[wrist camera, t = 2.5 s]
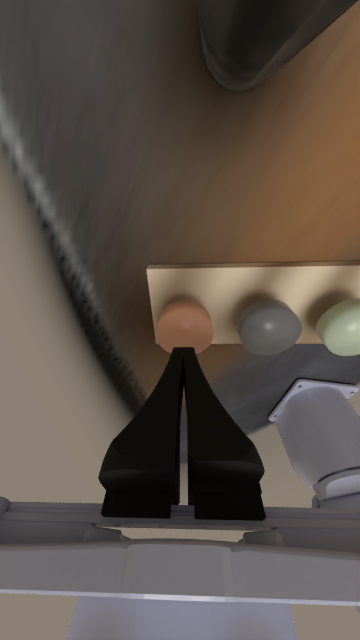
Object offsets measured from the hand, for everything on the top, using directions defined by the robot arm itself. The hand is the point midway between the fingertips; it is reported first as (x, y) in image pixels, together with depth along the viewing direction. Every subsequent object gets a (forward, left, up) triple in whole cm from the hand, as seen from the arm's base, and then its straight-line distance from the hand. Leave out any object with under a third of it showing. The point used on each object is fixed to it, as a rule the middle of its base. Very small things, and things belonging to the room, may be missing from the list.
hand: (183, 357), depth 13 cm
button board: (+1, -6, -7) cm, 9 cm away
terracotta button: (0, 0, -5) cm, 5 cm away
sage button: (+2, -13, -5) cm, 14 cm away
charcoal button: (+1, -6, -5) cm, 8 cm away
